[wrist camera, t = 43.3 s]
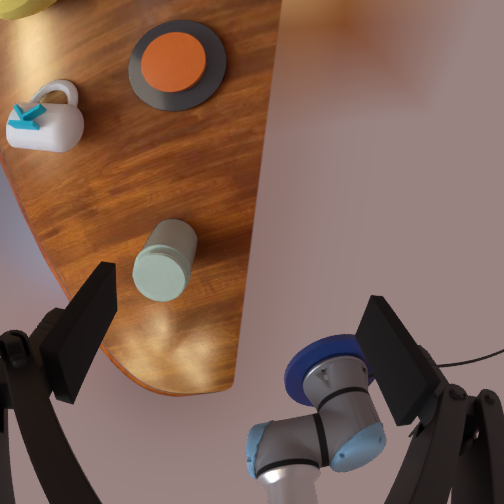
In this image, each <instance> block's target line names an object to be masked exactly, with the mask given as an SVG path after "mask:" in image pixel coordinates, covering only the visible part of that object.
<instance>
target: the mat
mask: <svg viewBox="0 0 504 504" xmlns="http://www.w3.org/2000/svg"><path fill="white" fill-rule="evenodd" d="M171 32H182V33H186V34H189V35H191V36H193V37H194V38H196V39H197V40H198V41H199V42H200V43H201V45H202V47H203V49H204V51H205V53H206V58H207V65H206V69H205V72H204V74H203V76H202V78H201V79H200V80H199V81H198V82H197V83H196V84H195V85H194V86H193V87H191V88H189V89H188V90H185V91H182V92H177V93H168V92H163V91H160V90H157V89H155V88H154V87H152V86H151V85H150V84H149V83H148V82H147V81H146V80H145V78H144V76H143V74H142V70H141V61H142V57H143V54H144V52H145V50H146V48H147V47H148V46H149V44H150V43H151V42H152V41H153V40H155V39H156V38H158V37H159V36H161V35H164V34H167V33H171ZM225 71H226V53H225V49H224V46H223V44H222V42H221V40H220V39H219V37H218V36H217V35H216V34H215V33H214V32H213V31H212V30H211V29H209V28H208V27H206V26H205V25H203V24H200V23H198V22H194V21H188V20H175V21H170V22H166V23H163V24H161V25H158V26H156V27H155V28H153V29H151V30H150V31H149V32H147V33H146V34H145V35H144V36H143V37H142V38H141V39H140V40H139V42H138V43H137V44H136V46H135V48H134V49H133V52H132V54H131V57H130V61H129V67H128V73H129V80H130V83H131V86H132V88H133V90H134V91H135V93H136V94H137V96H138V97H139V98H140V99H141V100H142V101H144V102H145V103H146V104H148V105H149V106H151V107H154V108H156V109H160V110H164V111H182V110H187V109H190V108H193V107H195V106H197V105H200V104H201V103H203V102H204V101H206V100H207V99H208V98H209V97H211V96H212V95H213V94H214V93H215V91H216V90H217V89H218V87H219V86H220V84H221V82H222V80H223V78H224V75H225Z"/></svg>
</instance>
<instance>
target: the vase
mask: <svg viewBox="0 0 504 504" xmlns="http://www.w3.org/2000/svg"><path fill="white" fill-rule="evenodd" d="M56 1H58V0H0V18H1V19H7V20H15V19H19V18H24V17H27V16H31V15H34V14H36V13H38V12H41V11H43V10H45V9H46V8H48V7H49V6H51V5H52V4H54V3H55V2H56Z"/></svg>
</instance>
